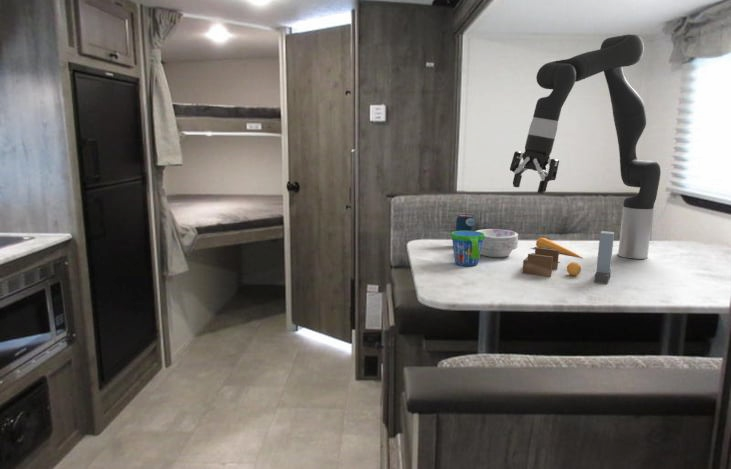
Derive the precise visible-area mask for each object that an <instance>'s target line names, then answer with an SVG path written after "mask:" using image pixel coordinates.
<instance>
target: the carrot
mask: <svg viewBox="0 0 731 469" xmlns="http://www.w3.org/2000/svg"><path fill="white" fill-rule="evenodd" d="M535 245H536V247H537V248H541V247H550V248H552V249H554V250H559V254H562V255H567V256H571V257H576V258H581V259H583V256H580V255H579V254H577V253H575V252H573V251H572V250H570V249H568V248H566V247H564V246H561V244H558V243H556V242H553V241H552V240H550V239H548V238H546V237H538V238H537V240H536V242H535Z"/></svg>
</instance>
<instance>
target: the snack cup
mask: <svg viewBox="0 0 731 469" xmlns="http://www.w3.org/2000/svg"><path fill="white" fill-rule="evenodd" d="M450 237H451V240H452V250H453V257H454V263H455V264H457V265H459V266H463V267H472V266H477V265H478V264H479V261H480V258H481V257H480V256H481V254H480V253H481V248H482V242H483V240H484V238H485V235H484V233H482V232H477V230H475V231H456V230H455V231H451V233H450Z"/></svg>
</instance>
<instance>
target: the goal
mask: <svg viewBox="0 0 731 469" xmlns="http://www.w3.org/2000/svg"><path fill="white" fill-rule="evenodd" d="M534 248H535V249H534V253H533V252H531V253H528V254H527V257H525V258H524V259H523V262H522V263H523V264H522V274H527V275H534V276H541V277H547V278H551V277H552V270H558V267H559V263H558V262H559V254H560V253H559V250H554V249H545V248H538V247H537V246H536V247H534Z"/></svg>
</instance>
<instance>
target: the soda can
mask: <svg viewBox="0 0 731 469" xmlns="http://www.w3.org/2000/svg"><path fill="white" fill-rule="evenodd" d="M455 222H456V224H455V231H476V218H475V215H474V214H468V213H460V214H458V215H457V218H456V221H455Z"/></svg>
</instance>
